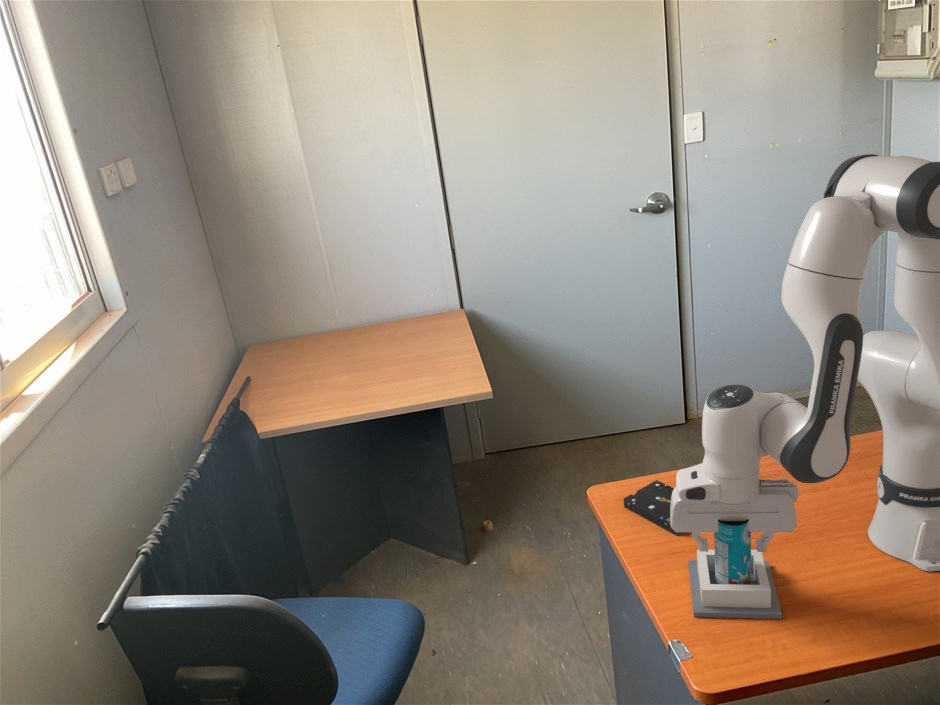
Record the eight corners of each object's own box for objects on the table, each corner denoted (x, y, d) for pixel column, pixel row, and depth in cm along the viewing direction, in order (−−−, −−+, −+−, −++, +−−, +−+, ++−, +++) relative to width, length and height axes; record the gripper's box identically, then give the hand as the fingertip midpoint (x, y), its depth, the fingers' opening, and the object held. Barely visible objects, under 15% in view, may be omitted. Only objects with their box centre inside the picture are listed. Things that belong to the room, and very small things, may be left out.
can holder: (768, 565, 140) (768, 544, 138) (781, 619, 127) (782, 597, 125) (688, 564, 143) (687, 544, 141) (694, 617, 130) (693, 595, 129)
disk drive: (623, 510, 163) (677, 538, 151) (622, 498, 162) (677, 526, 150) (656, 490, 168) (712, 516, 156) (656, 479, 167) (711, 504, 155)
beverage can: (747, 600, 131) (747, 526, 125) (712, 593, 134) (709, 520, 128) (754, 579, 135) (753, 507, 130) (719, 572, 138) (717, 501, 133)
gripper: (794, 469, 127) (793, 538, 132) (667, 471, 132) (670, 538, 137) (802, 490, 122) (800, 561, 127) (669, 491, 126) (672, 560, 131)
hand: (732, 549), depth 132 cm, fingers open, 8 cm apart
